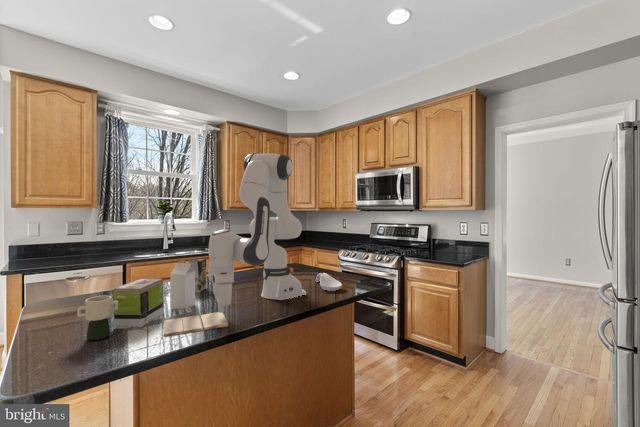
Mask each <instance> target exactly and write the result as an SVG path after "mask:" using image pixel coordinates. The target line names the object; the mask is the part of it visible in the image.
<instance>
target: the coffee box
mask: <svg viewBox="0 0 640 427" xmlns="http://www.w3.org/2000/svg"><path fill="white" fill-rule="evenodd" d="M187 264H190V266H191V267H192V268H193V270H194V271H195V294H197V293H201V292H203V291H205V289H207V258H194V259H191V260H188V262H187Z"/></svg>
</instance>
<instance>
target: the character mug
mask: <svg viewBox="0 0 640 427" xmlns="http://www.w3.org/2000/svg"><path fill="white" fill-rule="evenodd" d="M114 304H115V308H114V307H112V306H113V305H114ZM82 310H84V313H82ZM115 310H118V301H114V300H112V295H97V296H95V295H94V296H92V297H89V298H86V299H85V300H84V305H83V306H82V305H81V306H79V307H77V310H76V311H77V312H76V313H77V314H76V315H77V316H76V317H77V318H85V320H87V321H89V322H88V325H87V331H86V339H88V340H92V341H93V340H95V341H96V340H101V339H105V338H107V337H108V336H109V335H111V328H110V327H111V326H110V323H109V319H108V318H110V317H111V316H112V312H114V311H115Z"/></svg>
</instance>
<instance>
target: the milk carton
mask: <svg viewBox="0 0 640 427" xmlns="http://www.w3.org/2000/svg"><path fill="white" fill-rule="evenodd" d="M169 278H170V279H169V281H170V289H169V292H170V294H169V296H170V297H169V298H170V300H169V301H170V302H169V307H170V308H169V309H171V310H179V309H187V308H191V307H193V306H195V305H196V293H195V271H194V270H193V268H192V267H191V266H190V264H188V263H182V262H181V263H180V262H176V263H175V266H174V268H173V269H172V271H171V272H170V276H169Z"/></svg>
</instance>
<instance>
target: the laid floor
mask: <svg viewBox="0 0 640 427" xmlns="http://www.w3.org/2000/svg"><path fill="white" fill-rule="evenodd" d="M163 323H164V324H163V337H169V336H175V335H182V334H188V333H194V332H200V331H203V324H202V320H201V317H200V315H194V316H193V315H192V316H185V317H178V318H170V319H164V321H163Z"/></svg>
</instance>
